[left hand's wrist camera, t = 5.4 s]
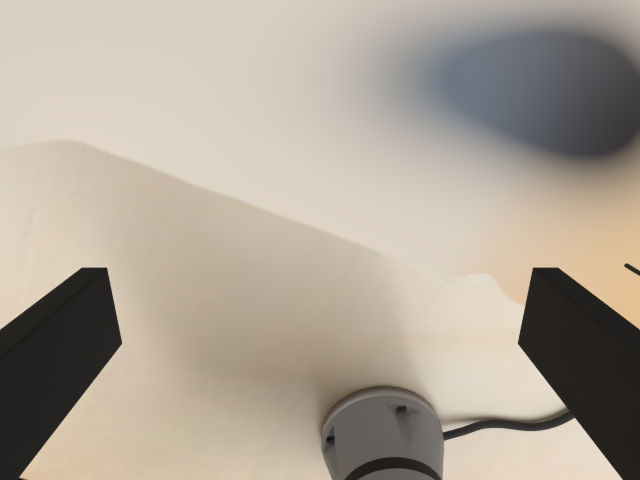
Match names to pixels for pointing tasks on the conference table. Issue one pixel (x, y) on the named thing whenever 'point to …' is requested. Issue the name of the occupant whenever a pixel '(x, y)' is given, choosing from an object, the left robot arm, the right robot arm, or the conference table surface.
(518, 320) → the conference table surface
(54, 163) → the conference table surface
